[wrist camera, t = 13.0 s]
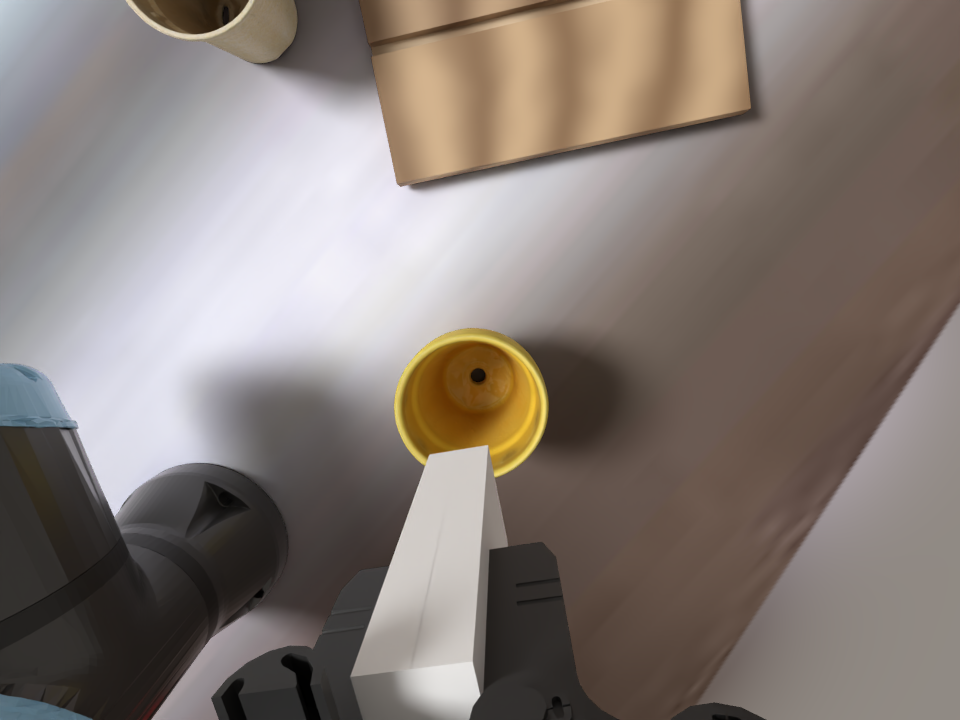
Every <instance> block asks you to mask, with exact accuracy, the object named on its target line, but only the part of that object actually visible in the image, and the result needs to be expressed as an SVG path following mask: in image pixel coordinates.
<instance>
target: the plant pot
mask: <svg viewBox="0 0 960 720" xmlns="http://www.w3.org/2000/svg"><path fill="white" fill-rule="evenodd" d="M477 368H480V369H482V370H484V372H485V375H486V377H485V379H484V380H483V381H481V382H474V381H473V380H472V379H471V373H472V371H473V370H474V369H477ZM394 411H395V419H396V424H397V428H398V431H399V433H400V436H401V438H402V440H403V442H404V444H405V445H406V447H407V448H408V450H409V451H410V452H411V454H412V455H413V456H414V457H415V458H416V459H417V460H418V461H419V462H420V463H422V464H423V465H424V466H425V465H426V462H427V460H428V457H429V455H430V454H436V453H442V452H448V451H455V450H461V449H467V448H473V447H479V446H485V445H488V447H489V452H490V457H491V462H492V467H493V472H494V477H495V478H496V477H499V476H502V475H504V474H506V473H508V472H510V471H512V470H513V469H515V468H516V467H518V466H519V465H520V464H522V463H523V462H524V461H525V460H526V459H527V458H528V457H529V456H530V455H531V454H532V452H533V451H534V450H535V448H536V447H537V445H538V444H539V442H540V440H541V438H542V436H543V434H544V431H545V428H546V424H547V419H548V411H549V401H548V394H547V389H546V386H545V382H544V379H543V377H542V374H541V372H540V370H539V368H538V366H537V365H536V363H535V361H534V360H533V358H532V357H531V356H530V354H529V353H528V352H527V351H526V350H525V349H524V348H523V347H522V346H521V345H519V344H518V343H517V342H515V341H514V340H512V339H511V338H509V337H507V336H505V335H503V334H501V333H498V332H495V331H491V330H487V329H479V328H467V329H460V330H455V331H452V332H449V333H446V334H444V335H442V336H440V337H438V338H436V339H434V340H433V341H431V342H430V343H429V344H427V345H426V346H425V347H424V348H423V349H421V350H420V351H419V352H418V353H417V354H416V355H415V357H414V358H413V359H412V360H411V362H410V363H409V364H408V365H407V367H406V368H405V370H404V372H403V374H402V376H401V378H400V380H399V383H398V386H397V389H396V394H395V402H394Z"/></svg>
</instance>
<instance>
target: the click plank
mask: <svg viewBox="0 0 960 720" xmlns="http://www.w3.org/2000/svg"><path fill="white" fill-rule="evenodd" d="M371 60H372V65H373V70H374V75H375V79H376V84H377V89H378V94H379V99H380V104H381V109H382V113H383V118H384V123H385V128H386V133H387V138H388V143H389V147H390V152H391V157H392V162H393V167H394V172H395V177H396V181H397V184H398V185H399V186H400V187H401V186H406V185H410V184H415V183H420V182H425V181H429V180H434V179H439V178H444V177H448V176H453V175H458V174H462V173H467V172H472V171H477V170H481V169H486V168H491V167H495V166H500V165H505V164H510V163H514V162H519V161H524V160H529V159H533V158H538V157H543V156H547V155H552V154H557V153H562V152H566V151H571V150H576V149H580V148H585V147H590V146H595V145H599V144H604V143H609V142H614V141H618V140H623V139H628V138H632V137H637V136H642V135H647V134H651V133H656V132H661V131H666V130H670V129H675V128H680V127H684V126H689V125H694V124H699V123H703V122H708V121H713V120H717V119H722V118H727V117H732V116H736V115H741V114H744V113H745V112H747V111H748V110H750V109H751V104H750V94H749V84H748V74H747V64H746V54H745V44H744V34H743V24H742V14H741V4H740V0H610V1H606V2H602V3H598V4H593V5H589V6H585V7H581V8H576V9H572V10H568V11H564V12H559V13H555V14H551V15H547V16H542V17H538V18H534V19H530V20H525V21H521V22H517V23H513V24H508V25H504V26H500V27H496V28H491V29H487V30H483V31H479V32H475V33H470V34H466V35H462V36H458V37H453V38H449V39H445V40H441V41H436V42H432V43H428V44H424V45H419V46H415V47H411V48H407V49H402V50H398V51H394V52H390V53H385V54H381V55H377V56H373V57H371Z"/></svg>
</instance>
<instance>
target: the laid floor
mask: <svg viewBox="0 0 960 720" xmlns="http://www.w3.org/2000/svg"><path fill="white" fill-rule="evenodd" d="M606 1H610V0H359V3H360V8H361V12H362V17H363V22H364V26H365V31H366V35H367V40H368V44H369V45H370V47H371V50H372V54H373V56H377V55H381V54H385V53H390V52H394V51H398V50H402V49H407V48H411V47H415V46H419V45H424V44H428V43H432V42H436V41H441V40H445V39H449V38H453V37H458V36H462V35H466V34H470V33H475V32H479V31H483V30H487V29H491V28H496V27H500V26H504V25H508V24H513V23H517V22H521V21H525V20H530V19H534V18H538V17H542V16H547V15H551V14H555V13H559V12H564V11H568V10H572V9H576V8H581V7H585V6H589V5H593V4H598V3H602V2H606Z"/></svg>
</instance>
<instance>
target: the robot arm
mask: <svg viewBox="0 0 960 720" xmlns="http://www.w3.org/2000/svg"><path fill="white" fill-rule="evenodd" d="M76 429H78V425H77V423H76V421H74V420H71V418H70V416H69V415H68V413H67V411H66V409H65V407H64V405H63V404H62V402H61V400H60V398H59V396H58V394H57V392H56V390H55V388H54V386H53V384H52V383H51V381H50V380H49V379H48V377H47V376H46V375H44V374H43V373H42V372H40V371H38V370H37V369H34V368H32V367H29V366H26V365H21V364H0V720H151V719H152V718H153V716H154V715H155V714H156V712H157V711H158V710H159V708H160V707H161V705H162V704H163V703H164V701H165V700H166V699H167V697H168V696H169V694H170V693H171V692H172V690H173V689H174V688H175V686H176V685H177V684H178V682H179V681H180V679H181V678H182V677H183V675H184V674H185V673H186V671H187V670H188V668H189V667H190V666H191V664H192V663H193V662H194V660H195V659H196V657H197V656H198V655H199V653H200V652H201V651H202V649H203V648H204V647H205V645H206V644H207V643H208V641H209V640H210V639H211V638H212V637H213V636H215V635H216V634H217V633H219V632H220V631H222V630H223V629H225V628H226V627H228V626H229V625H231V624H232V623H233V622H235V621H236V620H238V619H239V618H241V617H242V616H244V615H245V614H247V613H248V612H249V611H251V610H252V609H253V608H255V607H256V606H257V605H258V604H259V603H260V602H261V601H262V600H263V599H264V598H265V597H266V596H267V594H268V593H269V592H270V590H271V589H272V587H273V586H274V584H275V583H276V581H277V580H278V578H279V577H280V575H281V573H282V571H283V569H284V566H285V563H286V559H287V553H288V539H287V533H286V528H285V525H284V522H283V520H282V517H281V515H280V513H279V511H278V509H277V508H276V506H275V505H274V503H273V502H272V500H271V499H270V498H269V497H268V496H267V494H266V493H265V492H264V491H263V490H262V489H261V488H259V487H258V486H257V485H256V484H255V483H253V482H252V481H251V480H249V479H248V478H246V477H244V476H243V475H241V474H239V473H237V472H234V471H232V470H230V469H227V468H224V467H220V466H216V465H211V464H201V463H194V464H184V465H179V466H176V467H172V468H170V469H167V470H165V471H163V472H161V473H159V474H158V475H156V476H155V477H153V478H152V479H150V480H149V481H147V482H146V483H144V484H143V485H141V486H140V487H139V488H137V489H136V490H135V491H134V492H133V493H132V494H131V495H130V496H129V497H128V498H127V500H126V501H125V502H124V504H123V505H122V507H121V509H120V511H119V512H118V513H117V515H116V516H115V517H114V516H113V513H112V511H111V509H110V507H109V505H108V502H107V500H106V498H105V496H104V493H103V491H102V489H101V487H100V484H99V482H98V480H97V478H96V476H95V473H94V471H93V469H92V466H91V464H90V462H89V459H88V457H87V454H86V452H85V450H84V447H83V445H82V442H81V440H80V438H79V435H78V433H77V430H76ZM322 632H323V633H322V635H320V636H319V638H318V640H317V642H316V645H315V647H314V649H313V650H312V649H311V648H309V647H307V646H287V647H283V648H279V649H276V650H272V651H269V652H267V653H265V654H263V655H261V656H259V657H257V658H255V659H253V660H252V661H250V662H248V663H246V664H245V665H244V666H243V667H241V668H240V669H239V670H238V671H236V672H235V673H234V674H233V675H231V676H230V677H229V678H228V679H227V680H226V681H225V682H224V683H223V684H222V686H221V687H220V688H219V689H218V690H217V692H216V693H215V694H214V695H213V696H212V698H211V699H212V702H213V704H214V707H215V710H216V713H217V715H218V718H219V720H618V719H616V718H614V717H613V716H611V715H609V714H607V713H606V712H604V711H602V710H601V709H600V708H599V707H598V706H596V705H595V704H594V703H593V702H592V701H591V700H590V699H589V698H588V696H587V695H586V693H585V692H584V690H583V689H582V687H581V686H580V683H579V680H578V677H577V673H576V667H575V662H574V656H573V650H572V644H571V639H570V633H569V627H568V622H567V616H566V611H565V605H564V599H563V594H562V588H561V583H560V577H559V572H558V566H557V560H556V557H555V556H554V555H553V553H552V552H551V551H550V550H549V549H548V548H547V547H546V546H545V545H544V544H543V542H537V543H530V544H523V545H516V546H510V547H508V541H507V536H506V531H505V526H504V521H503V516H502V511H501V506H500V502H499V497H498V492H497V487H496V482H495V477H494V472H493V467H492V462H491V457H490V452H489V447H488V445H485V446H479V447H473V448H467V449H461V450H455V451H448V452H442V453H436V454H430V455H429V457H428V460H427V462H426V465H425V468H424V471H423V474H422V477H421V479H420V482H419V485H418V488H417V491H416V493H415V496H414V499H413V502H412V505H411V507H410V510H409V513H408V516H407V519H406V521H405V524H404V527H403V530H402V533H401V536H400V538H399V541H398V544H397V547H396V550H395V552H394V555H393V558H392V561H391V564H390V566H386V567H379V568H372V569H365V570H360V571H359V572H358V573H357V574H356V575H355V576H354V577H353V578H352V579H351V580H350V581H349V582H348V583H347V585H346V586H345V587H344V588H343V589H342V590H341V592H340V594H339V596H338V598H337V600H336V602H335V604H334V606H333V609H332V611H331V616H329V617H328V619H327V621H326V623H325V626H324V628H323V630H322ZM671 720H765V719H763V718H762V717H759V716H757V715H755V714H753V713H751V712H749V711H747V710H745V709H743V708H741V707H736V706H730V705H724V704H719V703H709V704H702V705H695V706H690V707H688V708H687V709H685V710H684V711H682V712H681V713H679V714H677V715H676V716H674V717H673V718H672V719H671Z"/></svg>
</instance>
